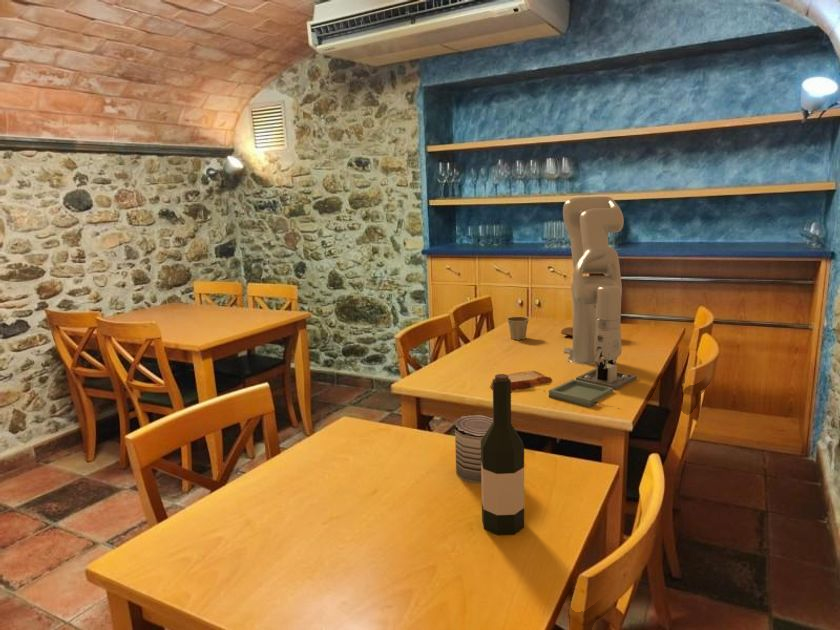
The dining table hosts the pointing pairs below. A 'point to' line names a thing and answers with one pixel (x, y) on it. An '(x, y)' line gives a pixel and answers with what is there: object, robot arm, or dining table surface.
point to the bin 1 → (580, 392)
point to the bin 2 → (620, 382)
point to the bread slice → (526, 380)
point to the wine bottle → (502, 467)
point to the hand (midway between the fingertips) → (606, 377)
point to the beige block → (609, 373)
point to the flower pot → (518, 327)
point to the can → (470, 445)
